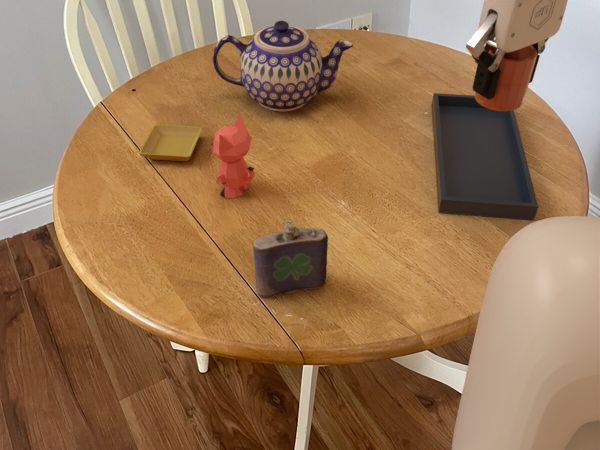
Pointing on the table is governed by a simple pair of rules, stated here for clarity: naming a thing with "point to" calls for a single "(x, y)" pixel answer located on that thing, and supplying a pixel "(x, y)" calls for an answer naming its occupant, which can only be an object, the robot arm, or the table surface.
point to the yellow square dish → (171, 142)
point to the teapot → (283, 66)
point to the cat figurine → (233, 158)
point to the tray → (480, 160)
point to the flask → (290, 260)
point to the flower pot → (511, 79)
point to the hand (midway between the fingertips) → (502, 85)
